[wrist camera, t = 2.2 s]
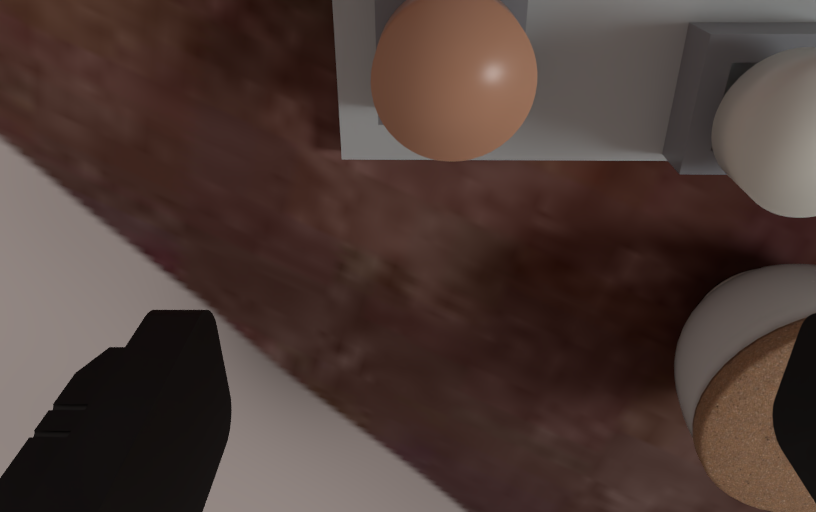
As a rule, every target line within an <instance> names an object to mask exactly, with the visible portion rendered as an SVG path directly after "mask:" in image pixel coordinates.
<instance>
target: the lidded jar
mask: <svg viewBox="0 0 816 512" xmlns="http://www.w3.org/2000/svg"><path fill="white" fill-rule="evenodd" d="M814 313H816V265H810V264H779V265H773V266H766V267H762V268H759V269H753V270H749V271H745V272H742V273H739V274H736V275H734V276H732V277H730V278H728V279H726V280H724V281H723V282H721V283H720V284H718V285H717V286H715V287H714V288H713V289H712V290H711V291H710V292H709V293H708V294H707V295H706V296H705V297H704V298H703V299H702V301H701V302H700V303H699V304H698V305H697V307H696V308H695V309H694V310H693V312H692V313H691V314H690V316H689V318H688V319H687V321H686V323H685V324H684V327H683V329H682V332H681V334H680V337H679V340H678V342H677V347H676V353H675V361H674V377H675V385H676V391H677V395H678V399H679V403H680V407H681V410H682V414H683V417H684V420H685V422H686V424H687V427H688V429H689V432H690V434H691V436H692V438H693V441H694V445H695V449H696V452H697V455H698V457H699V459H700V461H701V463H702V465H703V467H704V469H705V471H706V473H707V475H708V476H709V478H710V479H711V480H712V481H713V482H714V483H715V485H716V486H717V487H719V488H720V489H721V490H722V491H724V492H725V493H726V494H727V495H729V496H731V497H733V498H735V499H737V500H739V501H740V502H743V503H745V504H748V505H750V506H753V507H756V508H759V509H763V510H768V511H774V512H816V503H815V502H814V500H813V498H812V497H811V495H810V494H809V492H808V491H807V489H806V487H805V486H804V484H803V483H802V481H801V480H800V478H799V476H798V475H797V473H796V472H795V470H794V469H793V467H792V465H791V464H790V462H789V461H788V459H787V458H786V456H785V454H784V453H783V451H782V450H781V448H780V446H779V444H778V441H777V439H776V436H775V432H774V427H773V418H772V412H773V403H774V400H775V397H776V394H777V391H778V388H779V386H780V383H781V380H782V377H783V374H784V372H785V369H786V366H787V363H788V360H789V358H790V355H791V352H792V349H793V347H794V344H795V341H796V338H797V335H798V333H799V330H800V327H801V325H802V323H803V322H804V320H805V319H806V318H807V317H808V316H810V315H811V314H814Z"/></svg>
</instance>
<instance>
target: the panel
mask: <svg viewBox="0 0 816 512" xmlns="http://www.w3.org/2000/svg"><path fill="white" fill-rule="evenodd" d="M405 1H406V0H332V5H333V22H334V38H335V55H336V71H337V88H338V104H339V121H340V137H341V154H342V159H359V160H434V159H429V158H426V157H423V156H421V155H418V154H416V153H414V152H412V151H411V150H409V149H407V148H406V147H404V146H403V145H402V144H400V143H399V142H398V141H397V140H396V139H395V138H394V137H393V136H392V135H391V134H390V133H389V132H388V130H387V129H386V127H385V126H384V125H383V123H382V121H381V119H380V118H379V116H378V114H377V111H376V108H375V106H374V102H373V98H372V92H371V69H372V63H373V59H374V56H375V52H376V49H377V46H378V43H379V39H380V36H381V33H382V31H383V29H384V27H385V25H386V23H387V21H388V20H389V18H390V17H391V15H392V14H393V13H394V12H395V10H396V9H397V8H398V7H399V6H400V5H401V4H402V3H403V2H405ZM500 1H502V2H503V3H504V4H505V5H506V6H507V7H508V8H509V10H510V11H511V12H512V14H513V15H514V16H515V18H516V19H517V21H518V22H519V24H520V25H521V27H522V28H523V30H524V32H525V33H526V35H527V37H528V39H529V40H530V43H531V45H532V48H533V51H534V54H535V58H536V64H537V87H536V94H535V97H534V101H533V104H532V107H531V109H530V111H529V113H528V116H527V117H526V119H525V121H524V122H523V124H522V125H521V126H520V128H519V129H518V130H517V132H516V133H515V134H514V135H513V136H512V137H511V138H510V139H509V140H508V141H506V142H505V143H504V144H502V145H501V146H500V147H498V148H497V149H495V150H493V151H492V152H490V153H487V154H485V155H483V156H480V157H477V158H474V159H470V160H594V161H668V162H669V163H670V164H671V165H672V166H673V167H674V169H675V170H676V171H677V172H678V173H679V174H713V175H727V174H726V173H725V172H724V171H723V170H722V169H721V167H720V166H719V164H718V162H717V160H716V158H715V156H714V152H713V149H712V141H711V134H712V126H713V121H714V117H715V114H716V111H717V109H718V107H719V105H720V103H721V101H722V99H723V98H724V96H725V94H726V93H727V91H728V90H729V89H730V87H731V86H732V85H733V84H734V83H735V82H736V81H737V80H738V78H739V77H740V76H742V75H743V74H744V73H745V72H746V71H747V70H748V69H750V68H751V67H753V66H754V65H755V64H757V63H758V62H760V61H762V60H764V59H766V58H767V57H770V56H772V55H774V54H776V53H779V52H782V51H785V50H789V49H794V48H800V47H816V0H500Z"/></svg>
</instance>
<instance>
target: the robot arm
mask: <svg viewBox="0 0 816 512" xmlns="http://www.w3.org/2000/svg"><path fill="white" fill-rule="evenodd" d="M53 405H54V407H53V410H51V411H50V410H49V411H48V412H47V414H46V415H45V417H44V418H43V419H42V421H41V422H40V423H39V425H38V426H37V428H36V429H35V430H34V431H35V434H34V437H33V438H29V439H28V440H27V442H26V443H25V444H24V446H23V447H22V448H21V450H20V451H19V453H18V454H17V456H16V457H15V458H14V460H13V461H12V462H11V464H10V465H9V467H8V468H7V469H6V471H5V472H4V474H3V475H2V476H1V478H0V512H202V511H203V508H204V506H205V503H206V500H207V497H208V494H209V492H210V489H211V486H212V483H213V480H214V478H215V475H216V472H217V469H218V466H219V463H220V460H221V458H222V455H223V452H224V449H225V446H226V443H227V440H228V436H229V431H230V422H231V397H230V392H229V386H228V382H227V376H226V371H225V366H224V361H223V356H222V351H221V346H220V340H219V335H218V330H217V325H216V321H215V318H214V316H213V314H212V313H211V312H210V311H209V310H152V311H150V312H149V313H148V314H147V315H146V316H145V318H144V319H143V321H142V322H141V324H140V325H139V327H138V328H137V330H136V331H135V333H134V335H133V336H132V338H131V339H130V341H129V342H128V344H127V345H126V347H124V348H123V347H116V348H115V347H114V348H113V347H110V348H108V349H107V350H105V351H104V352H103V353H102V354H100V355H99V356H98V357H96V358H95V359H94V360H92V361H91V362H90V363H88V364H87V365H86V366H85V367H83V368H82V369H80V370H79V371H78V372H76V374H74V376H73V378H72V379H71V380H70V382H69V383H68V384H67V386H66V387H65V388H64V390H63V391H62V393H61V394H60V395H59V397H58V399H57V400H56V401H55V402H54V404H53ZM772 418H773V427H774V432H775V436H776V439H777V441H778V444H779V446H780V448H781V450H782V451H783V453H784V454H785V456H786V458H787V459H788V461H789V462H790V464H791V465H792V467H793V469H794V470H795V472H796V473H797V475H798V476H799V478H800V480H801V481H802V483H803V484H804V486H805V487H806V489H807V491H808V492H809V494H810V495H811V497H812V498H813V500H814V502H815V503H816V313H814V314H811V315H810V316H808V317H807V318H806V319H805V320H804V322H803V323H802V325H801V327H800V330H799V333H798V335H797V338H796V341H795V344H794V347H793V349H792V352H791V355H790V358H789V360H788V363H787V366H786V369H785V372H784V374H783V377H782V380H781V383H780V386H779V388H778V391H777V394H776V397H775V400H774V403H773V412H772Z"/></svg>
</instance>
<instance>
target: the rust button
mask: <svg viewBox="0 0 816 512" xmlns="http://www.w3.org/2000/svg"><path fill="white" fill-rule="evenodd" d="M536 87H537V64H536V58H535V54H534V51H533V48H532V45H531V43H530V40H529V39H528V37H527V35H526V33H525V32H524V30H523V28H522V27H521V25H520V24H519V22H518V21H517V19H516V18H515V16H514V15H513V14H512V12H511V11H510V10H509V8H508V7H507V6H506V5H505V4H504V3H503V2H502V1H500V0H406V1H405V2H403V3H402V4H401V5H400V6H399V7H398V8H397V9H396V10H395V12H394V13H393V14H392V15H391V17H390V18H389V20H388V21H387V23H386V25H385V27H384V29H383V31H382V33H381V36H380V39H379V43H378V46H377V49H376V52H375V56H374V59H373V63H372V69H371V92H372V98H373V102H374V106H375V108H376V111H377V114H378V116H379V118H380V119H381V121H382V123H383V125H384V126H385V127H386V129H387V130H388V132H389V133H390V134H391V135H392V136H393V137H394V138H395V139H396V140H397V141H398V142H399V143H400V144H402V145H403V146H404V147H406V148H407V149H409V150H411V151H412V152H414V153H416V154H418V155H421V156H423V157H426V158H429V159H434V160H439V161H450V162H453V161H464V160H470V159H474V158H477V157H480V156H483V155H485V154H487V153H490V152H492V151H493V150H495V149H497V148H498V147H500V146H501V145H502V144H504V143H505V142H506V141H508V140H509V139H510V138H511V137H512V136H513V135H514V134H515V133H516V132H517V130H518V129H519V128H520V126H521V125H522V124H523V122H524V121H525V119H526V117H527V116H528V113H529V111H530V109H531V107H532V104H533V101H534V97H535V94H536Z"/></svg>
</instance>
